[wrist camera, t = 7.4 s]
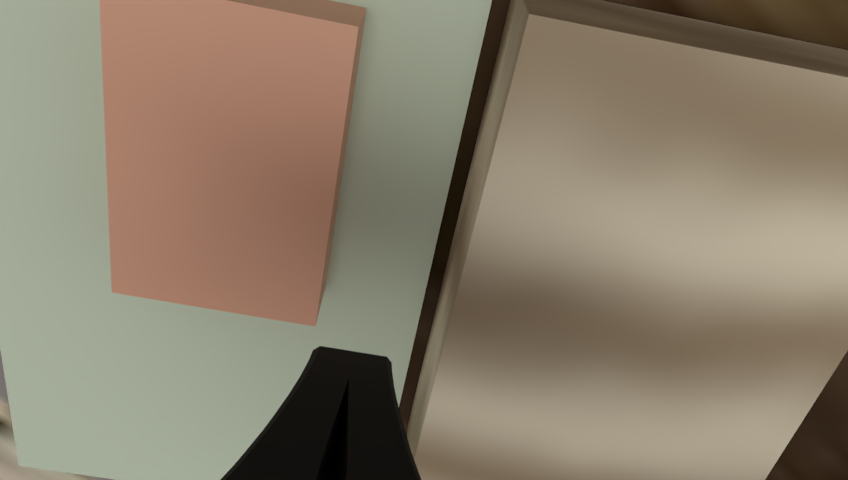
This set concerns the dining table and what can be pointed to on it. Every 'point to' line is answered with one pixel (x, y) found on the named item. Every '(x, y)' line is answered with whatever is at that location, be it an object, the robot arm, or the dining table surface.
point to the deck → (640, 253)
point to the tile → (227, 148)
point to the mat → (189, 325)
